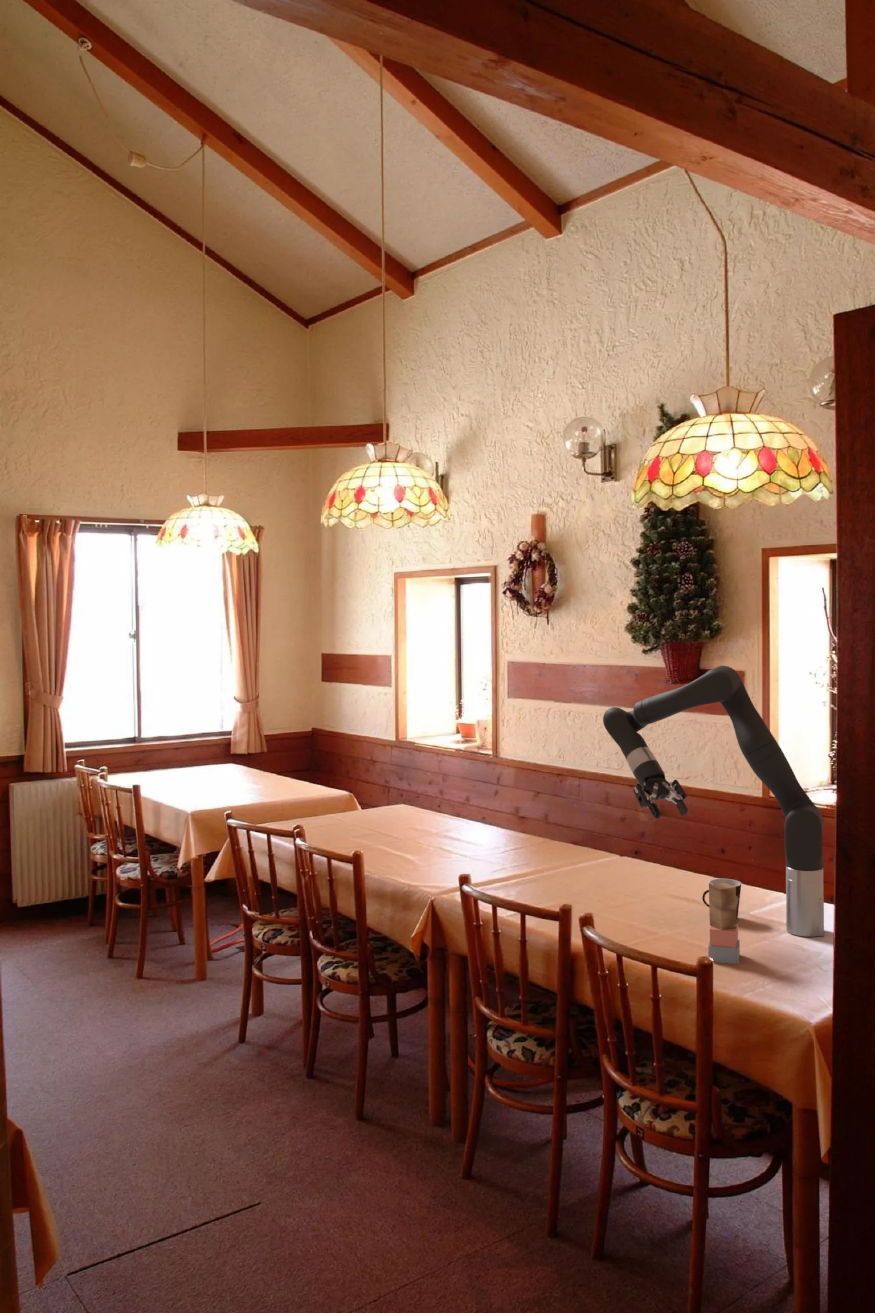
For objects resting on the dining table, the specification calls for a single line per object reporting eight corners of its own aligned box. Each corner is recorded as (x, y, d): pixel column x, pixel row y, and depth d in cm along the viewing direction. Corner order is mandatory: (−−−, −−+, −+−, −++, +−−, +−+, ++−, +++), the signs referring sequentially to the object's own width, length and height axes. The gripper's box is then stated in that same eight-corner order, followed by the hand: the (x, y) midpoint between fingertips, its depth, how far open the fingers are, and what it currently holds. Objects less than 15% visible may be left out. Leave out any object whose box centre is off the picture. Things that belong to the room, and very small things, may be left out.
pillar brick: (724, 922, 250) (723, 882, 250) (736, 927, 246) (735, 887, 246) (709, 925, 249) (708, 885, 248) (721, 930, 245) (720, 889, 244)
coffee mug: (735, 913, 284) (735, 878, 284) (746, 922, 275) (745, 886, 275) (694, 914, 284) (694, 879, 283) (703, 924, 275) (703, 887, 275)
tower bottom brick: (739, 955, 250) (739, 939, 250) (738, 965, 243) (738, 948, 243) (710, 953, 252) (710, 937, 252) (708, 962, 246) (708, 946, 246)
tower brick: (737, 940, 249) (737, 924, 249) (735, 948, 244) (735, 931, 243) (712, 938, 251) (712, 922, 251) (709, 945, 246) (709, 929, 246)
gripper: (629, 761, 274) (656, 810, 264) (671, 756, 280) (700, 804, 270) (618, 778, 279) (644, 826, 269) (660, 773, 285) (687, 821, 275)
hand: (672, 815), depth 270 cm, fingers open, 8 cm apart
